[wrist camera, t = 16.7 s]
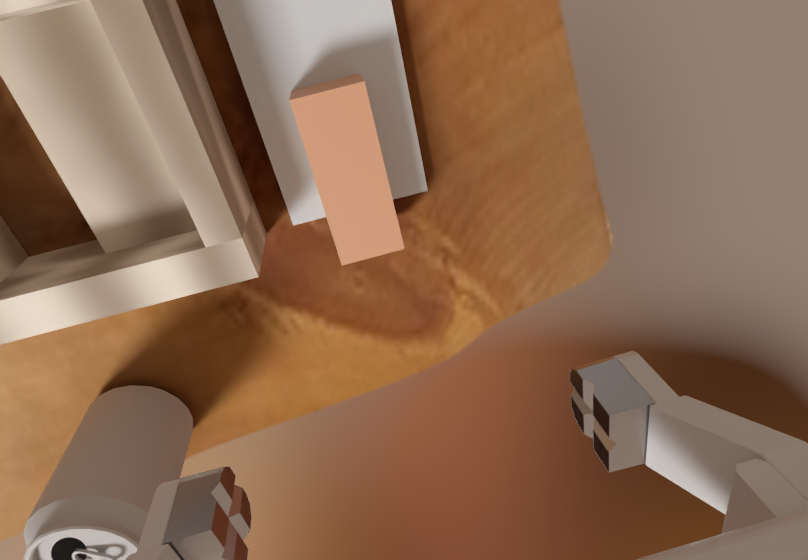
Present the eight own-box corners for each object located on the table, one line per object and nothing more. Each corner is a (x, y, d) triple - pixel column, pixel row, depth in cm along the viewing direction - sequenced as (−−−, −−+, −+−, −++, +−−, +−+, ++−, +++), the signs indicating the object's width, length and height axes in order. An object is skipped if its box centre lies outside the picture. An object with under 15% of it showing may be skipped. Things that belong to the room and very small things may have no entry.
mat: (293, 219, 33) (293, 225, 32) (216, -2, 26) (212, -2, 25) (424, 185, 33) (427, 190, 32) (380, -41, 27) (383, -43, 26)
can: (95, 369, 36) (9, 517, 26) (203, 386, 38) (163, 529, 28) (87, 442, 39) (6, 600, 29) (187, 454, 41) (146, 605, 31)
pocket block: (20, 297, 32) (-34, 353, 27) (-191, 7, 24) (-330, 9, 19) (266, 233, 33) (258, 277, 28) (147, -72, 24) (104, -91, 19)
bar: (291, 91, 28) (289, 100, 26) (359, 73, 28) (364, 81, 26) (339, 244, 33) (341, 265, 31) (397, 229, 33) (404, 248, 31)
